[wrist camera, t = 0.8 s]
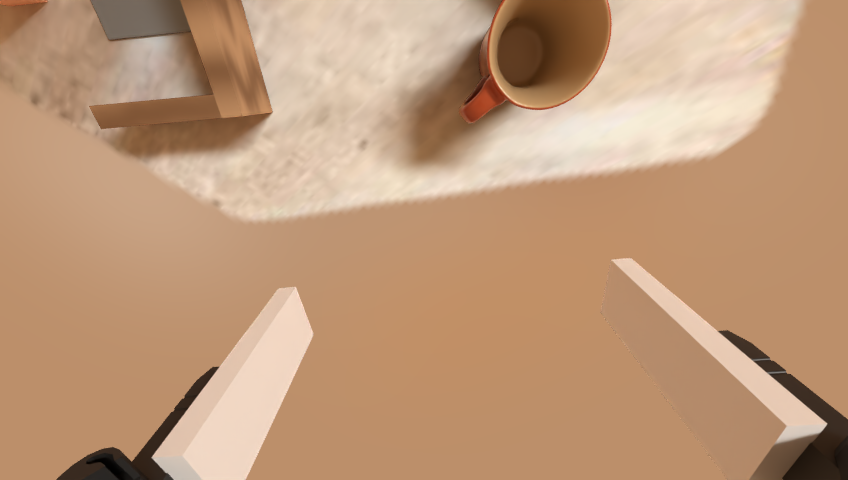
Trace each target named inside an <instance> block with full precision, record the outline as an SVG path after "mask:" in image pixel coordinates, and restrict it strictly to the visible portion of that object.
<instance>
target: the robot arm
mask: <svg viewBox="0 0 848 480" xmlns="http://www.w3.org/2000/svg"><path fill="white" fill-rule="evenodd" d="M601 314H602V315H603V317H604V318H605V320H606V321H607V322H608V323H609V325H610V326H611V327H612V329H613V330H614V331H615V333H616V334H617V335H618V336H619V338H620V339H621V341H622V342H623V343H624V344H625V346H626V347H627V348H628V350H629V351H630V352H631V354H632V355H633V356H634V358H635V359H636V360H637V361H638V363H639V364H640V365H641V367H642V368H643V369H644V371H645V372H646V373H647V375H648V376H649V377H650V378H651V380H652V381H653V382H654V384H655V385H656V387H657V388H658V389H659V390H660V392H661V393H662V394H663V396H664V397H665V398H666V400H667V401H668V402H669V404H670V405H671V406H672V408H673V409H674V410H675V411H676V413H677V414H678V415H679V417H680V418H681V419H682V421H683V422H684V423H685V425H686V426H687V427H688V429H689V430H690V431H691V432H692V434H693V435H694V436H695V438H696V439H697V440H698V441H699V443H700V444H701V446H702V447H703V448H704V450H705V451H706V452H707V453H708V455H709V456H710V457H711V459H712V460H713V461H714V463H715V464H716V465H717V466H718V468H719V469H720V471H721V472H722V473H723V474H724V476H725V477H726V478H727V480H848V419H847V418H845V417H844V416H843V415H841V414H840V413H839V412H838V411H836V410H835V409H834V408H833V407H831V406H830V405H829V404H827V403H826V402H825V401H824V400H823V399H821V398H820V397H819V396H817V395H816V394H815V393H813V392H812V391H811V390H810V389H809V388H807V387H806V386H805V385H804V384H802V383H801V382H800V381H798V380H797V379H796V378H795V377H793V376H792V375H791V374H787V373H786V370H785V369H783V368H782V367H781V366H780V365H778V364H777V363H776V362H774V361H771V360H770V358H769V357H768V356H767V355H766V354H764V353H763V352H762V351H761V350H759V349H758V348H757V347H755V346H754V345H753V344H752V343H750V342H748V341H747V340H745V339H743V338H741V337H739V336H737V335H735V334H733V333H732V332H730V331H728V330H727V331H716V330H715V329H714V328H713V327H712V326H711V325H710V324H708V323H707V322H706V321H705V320H704V319H702V318H701V317H700V316H699V315H698V314H697V313H695V312H694V311H693V310H692V309H691V308H689V307H688V306H687V305H686V304H685V303H683V302H682V301H681V300H680V299H679V298H678V297H676V296H675V295H674V294H673V293H672V292H670V291H669V290H668V289H667V288H666V287H664V286H663V285H662V284H661V283H660V282H659V281H657V280H656V279H655V278H654V277H653V276H651V275H650V274H649V273H648V272H647V271H646V270H644V269H643V268H642V267H641V266H640V265H638V264H637V263H636V262H635V261H634V260H632V259H631V258H625V259H615V260H614V259H613V260H611V262H610V267H609V272H608V278H607V282H606V287H605V293H604V298H603V303H602V308H601ZM312 337H313V332H312V329H311V327H310V324H309V321H308V318H307V316H306V313H305V311H304V308H303V305H302V302H301V300H300V297H299V294H298V292H297V289H296V287H289V288H279V289H278V290H277V291H276V293H275V294H274V295H273V297H272V298H271V299H270V301H269V302H268V303H267V305H266V306H265V307H264V309H263V310H262V311H261V313H260V314H259V315H258V317H257V318H256V319H255V321H254V322H253V323H252V325H251V326H250V327H249V329H248V330H247V331H246V333H245V334H244V335H243V336H242V338H241V339H240V341H239V342H238V343H237V345H236V346H235V347H234V348H233V350H232V351H231V352H230V354H229V355H228V356H227V358H226V359H225V361H224V362H223V363H222V365H221V366H220V367H212V368H211V369H210V370H209V371H207V372H206V373H205V374H204V375H203V376H201V377H200V378H199V379H198V380H197V381H196V382H195V383H194V384H193V386H192V387H191V389H189V391H188V392H187V393H186V395H185V398H184V399H182V400H181V401H180V402H179V403H178V405H177V406H176V407H175V408H174V409H175V410H174V412H171V413H170V415H169V416H168V417H167V418H166V420H165V421H164V422H163V424H162V425H161V426H160V427H159V428H158V430H157V431H156V432H155V434H154V435H153V436H152V437H151V439H150V440H149V441H148V442H147V444H146V445H145V446H144V448H143V449H142V450H141V451H140V452H139V454H138V455H137V456H136V457H135V459H134V460H133V461H132V462H131V461H130V460H129V459H128V458H127V457H126V456H125V455H124V454H123V453H122V452H121V451H120V450H119V449H116V448H114V447H112V448H105V449H101V450H99V451H96V452H94V453H92V454H90V455H87V456H86V457H84V458H83V459H81V460H80V461H78V462H77V463H75V464H74V465H72V466H71V467H70V468H69V469H68V470H66V471H65V472H64V473H63V474H62V475H61V476H60V477H58V478H57V480H245V479H246V478H247V475H248V473H249V471H250V469H251V467H252V465H253V463H254V461H255V458H256V456H257V454H258V452H259V450H260V448H261V446H262V443H263V441H264V439H265V437H266V435H267V433H268V431H269V429H270V426H271V424H272V422H273V420H274V418H275V416H276V414H277V412H278V409H279V407H280V405H281V403H282V401H283V399H284V397H285V394H286V392H287V390H288V388H289V386H290V384H291V381H292V380H293V377H294V375H295V373H296V371H297V369H298V367H299V365H300V362H301V360H302V358H303V356H304V354H305V352H306V350H307V348H308V345H309V343H310V341H311V339H312Z"/></svg>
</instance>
